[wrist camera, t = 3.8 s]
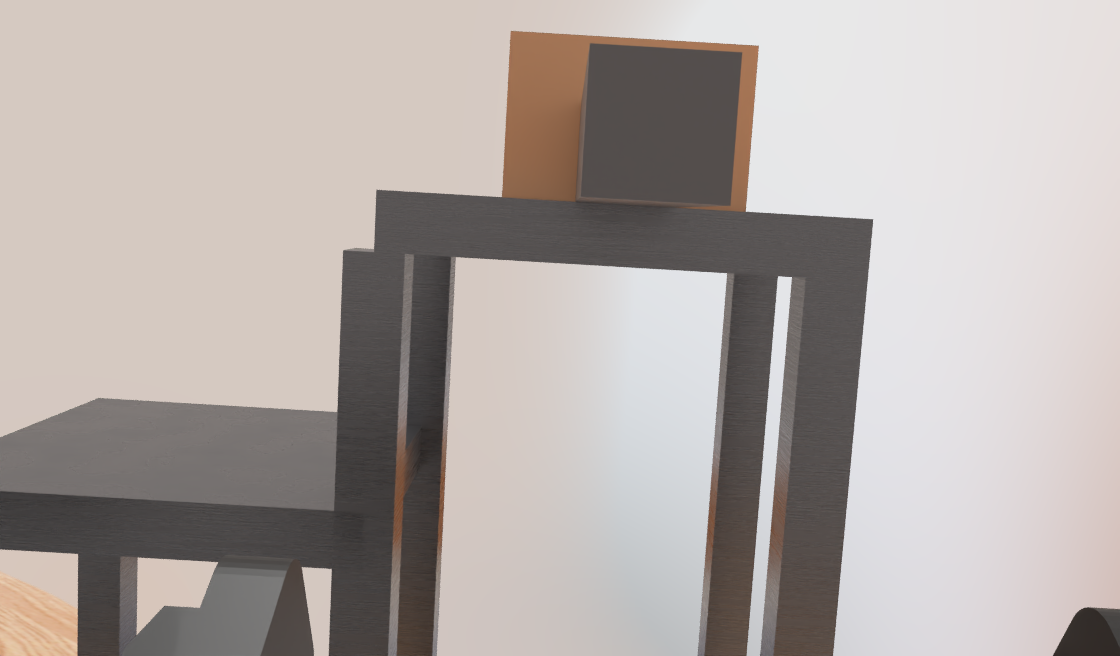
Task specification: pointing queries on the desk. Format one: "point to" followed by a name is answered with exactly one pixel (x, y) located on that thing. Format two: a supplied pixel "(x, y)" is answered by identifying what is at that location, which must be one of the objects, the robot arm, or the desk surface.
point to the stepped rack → (421, 426)
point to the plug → (629, 121)
